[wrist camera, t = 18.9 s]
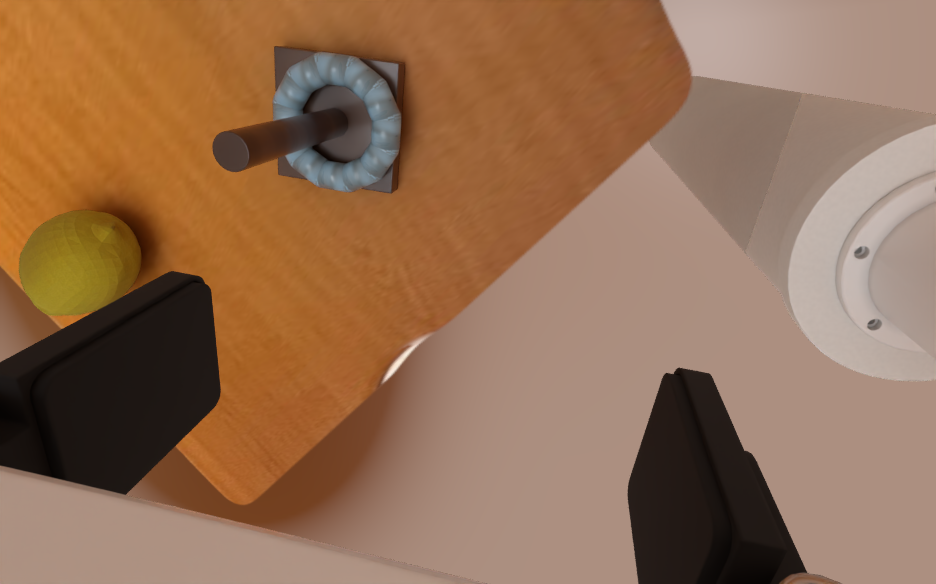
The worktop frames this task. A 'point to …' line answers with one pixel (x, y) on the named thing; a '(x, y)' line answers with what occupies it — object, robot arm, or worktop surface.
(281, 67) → the peg stand
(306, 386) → the worktop surface
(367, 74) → the ring
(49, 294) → the lemon
